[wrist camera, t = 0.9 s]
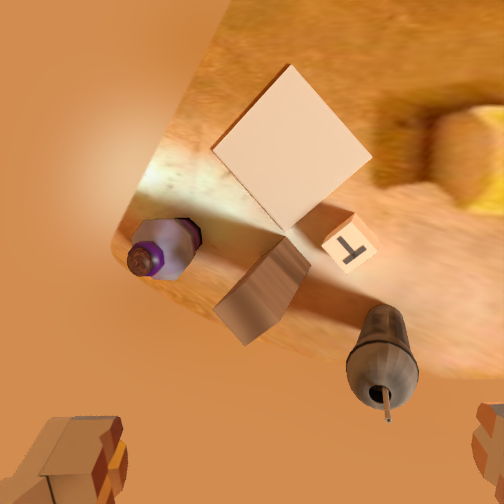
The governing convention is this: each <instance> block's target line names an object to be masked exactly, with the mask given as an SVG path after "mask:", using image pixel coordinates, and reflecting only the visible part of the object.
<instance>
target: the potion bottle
mask: <svg viewBox="0 0 504 504" xmlns="http://www.w3.org/2000/svg"><path fill="white" fill-rule="evenodd" d="M131 241H132V246H133V247H132V248H131V250H130V251H129V252H128V257H127V264H128V268H129V269H130V271H131V272H132V273H133V274H134V275H136V276H139V277H141V276H151V277H152V278H153V279H158V280H176V279H177V278H178V277H179V276H180V275H181V273H182V272H183V271H184V270H185V269H186V267H187V266H188V265H189V264H190V262H191V261H192V259H193V257H194V256H195V254H196V253H195V251H196V250H197V249H198V248H199V247H200V245H201V244H202V237H201V229H200V228H199V227H198V226H197V225H196V224H195V223H194V222H193V221H192V220H191V219H190V218H175V219H153V220H143V222H142V223H141V225H140V226H139V227H138V229H137V230H136V232H135V233H134V234H133V236H132V237H131Z"/></svg>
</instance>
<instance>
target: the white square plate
mask: <svg viewBox="0 0 504 504" xmlns="http://www.w3.org/2000/svg"><path fill="white" fill-rule="evenodd" d="M213 152H214V153H215V154H216V155H217V156H218V157H219V158H220V159H221V161H222V162H223V163H224V164H225V165H226V166H227V167H228V168H229V170H230V171H231V172H232V173H233V174H234V175H235V176H236V178H237V179H238V180H239V181H240V182H241V183H242V184H243V185H244V187H245V188H246V189H247V190H248V191H249V192H250V193H251V194H252V196H253V197H254V198H255V199H256V200H257V201H258V202H259V203H260V205H261V206H262V207H263V208H264V209H265V210H266V211H267V212H268V214H269V215H270V216H271V217H272V218H273V219H274V220H275V222H276V223H277V224H278V225H279V226H280V227H281V228H282V229H283V231H284V232H286V231H287V230H288V229H290V228H291V227H292V226H293V225H294V224H295V223H297V222H298V221H299V220H300V219H301V218H302V217H304V216H305V215H306V214H307V213H308V212H309V211H311V210H312V209H313V208H314V207H315V206H316V205H318V204H319V203H320V202H321V201H322V200H323V199H325V198H326V197H327V196H328V195H329V194H330V193H332V192H333V191H334V190H335V189H336V188H337V187H339V186H340V185H341V184H342V183H343V182H344V181H346V180H347V179H348V178H349V177H350V176H351V175H353V174H354V173H355V172H356V171H357V170H358V169H360V168H361V167H362V166H363V165H364V164H365V163H367V162H368V161H369V160H370V159H371V158H372V155H371V154H370V153H369V152H368V151H367V150H366V149H365V147H364V146H363V145H362V144H361V143H360V142H359V141H358V139H357V138H356V137H355V136H354V135H353V134H352V133H351V131H350V130H349V129H348V128H347V127H346V126H345V125H344V123H343V122H342V121H341V120H340V119H339V118H338V117H337V115H336V114H335V113H334V112H333V111H332V110H331V109H330V107H329V106H328V105H327V104H326V103H325V102H324V101H323V99H322V98H321V97H320V96H319V95H318V94H317V93H316V91H315V90H314V89H313V88H312V87H311V86H310V85H309V83H308V82H307V81H306V80H305V79H304V78H303V77H302V75H301V74H300V73H299V72H298V71H297V70H296V69H295V67H294V66H293V65H292V64H291V65H290V66H289V67H288V68H287V69H286V71H285V72H284V73H283V74H282V75H281V76H280V77H279V78H278V79H277V80H276V81H275V83H274V84H273V85H272V86H271V87H270V88H269V89H268V90H267V91H266V92H265V94H264V95H263V96H262V97H261V98H260V99H259V100H258V101H257V102H256V103H255V105H254V106H253V107H252V108H251V109H250V110H249V111H248V112H247V113H246V114H245V115H244V117H243V118H242V119H241V120H240V121H239V122H238V123H237V124H236V125H235V126H234V128H233V129H232V130H231V131H230V132H229V133H228V134H227V135H226V136H225V137H224V138H223V140H222V141H221V142H220V143H219V144H218V145H217V146H216V147H215V148H214V149H213Z"/></svg>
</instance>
